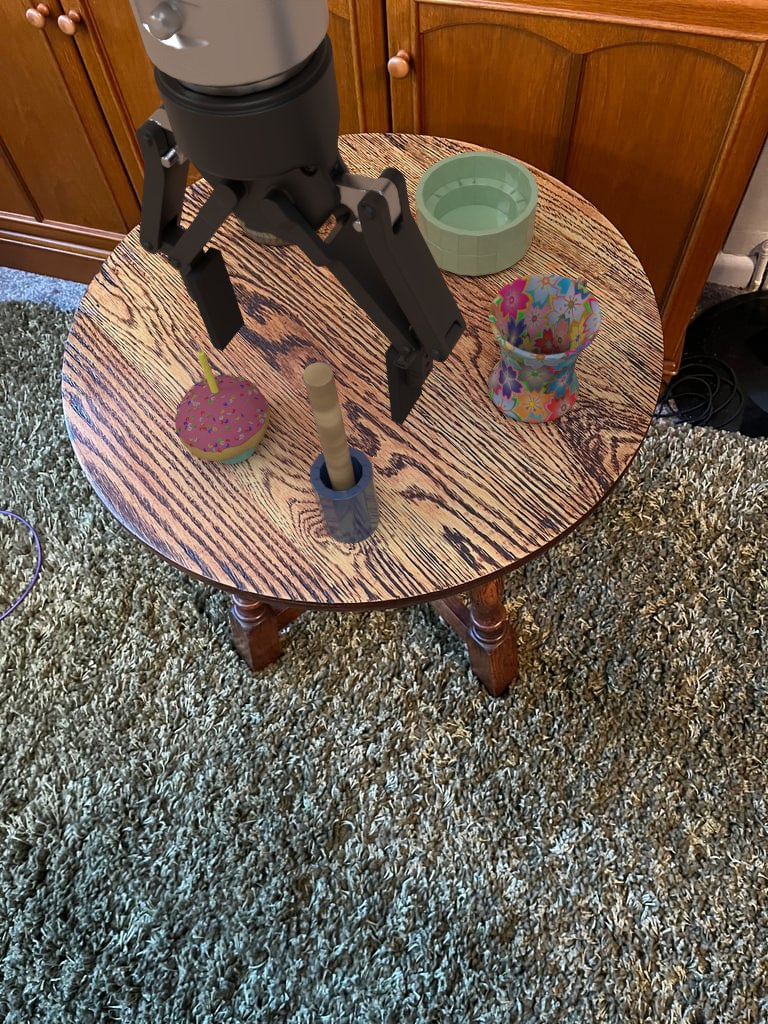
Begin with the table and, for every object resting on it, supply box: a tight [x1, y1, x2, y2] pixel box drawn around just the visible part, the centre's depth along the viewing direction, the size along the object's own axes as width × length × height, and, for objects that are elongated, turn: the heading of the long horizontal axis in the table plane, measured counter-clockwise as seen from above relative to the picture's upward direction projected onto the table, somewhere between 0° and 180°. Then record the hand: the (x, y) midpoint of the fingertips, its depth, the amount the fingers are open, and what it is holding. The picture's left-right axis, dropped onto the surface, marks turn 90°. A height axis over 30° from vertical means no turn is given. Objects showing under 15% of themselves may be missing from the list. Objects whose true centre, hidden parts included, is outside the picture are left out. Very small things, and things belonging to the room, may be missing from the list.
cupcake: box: [174, 343, 272, 465], centre depth 68 cm, size 9×8×12 cm
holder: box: [309, 445, 381, 544], centre depth 65 cm, size 5×5×8 cm
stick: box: [302, 361, 356, 491], centre depth 59 cm, size 2×2×20 cm
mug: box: [487, 273, 602, 424], centre depth 69 cm, size 12×9×11 cm
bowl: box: [414, 150, 540, 277], centre depth 81 cm, size 12×12×6 cm
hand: (314, 370), depth 50 cm, fingers open, 13 cm apart
